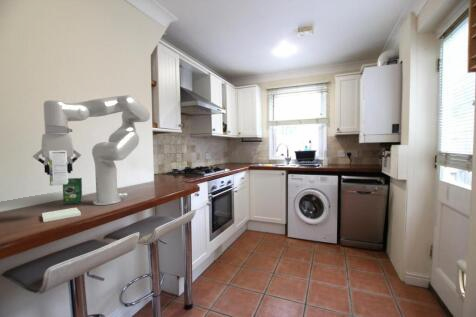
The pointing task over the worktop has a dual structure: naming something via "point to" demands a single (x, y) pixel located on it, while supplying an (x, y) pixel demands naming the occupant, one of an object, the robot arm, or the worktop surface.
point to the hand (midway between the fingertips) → (59, 173)
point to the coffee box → (72, 191)
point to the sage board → (60, 214)
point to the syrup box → (58, 167)
